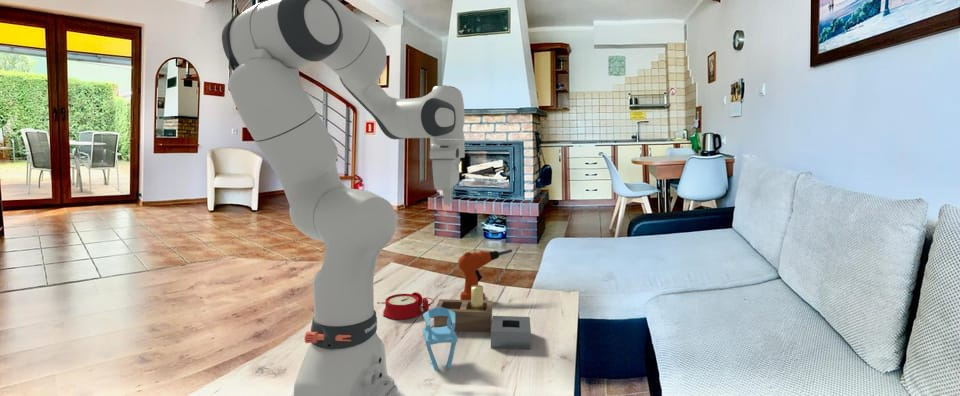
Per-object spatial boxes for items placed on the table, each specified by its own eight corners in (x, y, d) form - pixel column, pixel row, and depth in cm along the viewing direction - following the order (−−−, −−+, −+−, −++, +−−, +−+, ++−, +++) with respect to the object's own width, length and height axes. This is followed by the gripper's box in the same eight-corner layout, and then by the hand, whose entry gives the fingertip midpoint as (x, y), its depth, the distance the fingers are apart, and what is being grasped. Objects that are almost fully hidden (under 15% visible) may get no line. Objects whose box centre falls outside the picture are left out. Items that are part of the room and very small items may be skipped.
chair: (424, 376, 91) (423, 320, 90) (420, 357, 99) (419, 305, 98) (461, 372, 93) (461, 317, 92) (454, 353, 101) (454, 302, 100)
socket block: (530, 353, 101) (530, 332, 101) (490, 352, 102) (490, 331, 101) (529, 336, 110) (529, 316, 109) (492, 335, 111) (492, 315, 110)
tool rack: (490, 335, 110) (490, 312, 110) (434, 333, 111) (433, 310, 111) (492, 322, 118) (492, 300, 117) (439, 320, 119) (439, 299, 119)
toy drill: (519, 289, 140) (514, 243, 137) (464, 305, 133) (458, 257, 130) (512, 284, 145) (507, 239, 142) (458, 300, 137) (452, 253, 134)
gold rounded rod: (482, 327, 113) (482, 288, 112) (470, 327, 113) (470, 288, 112) (482, 322, 116) (483, 285, 115) (471, 322, 116) (471, 284, 115)
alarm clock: (373, 299, 126) (421, 279, 133) (379, 319, 127) (426, 298, 134) (386, 311, 117) (437, 289, 124) (392, 332, 118) (441, 309, 126)
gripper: (442, 149, 127) (442, 198, 129) (428, 151, 107) (428, 209, 108) (464, 149, 126) (464, 198, 128) (454, 152, 106) (454, 209, 108)
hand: (448, 203), depth 118 cm, fingers closed
